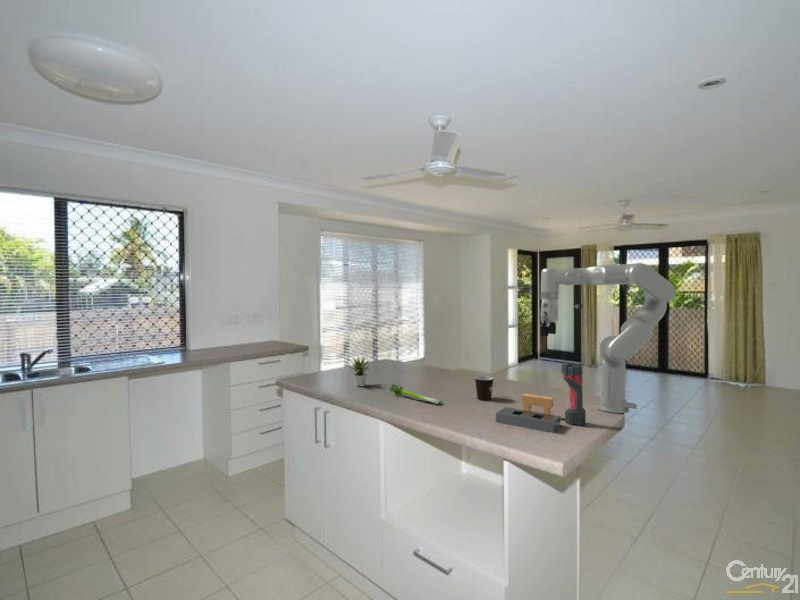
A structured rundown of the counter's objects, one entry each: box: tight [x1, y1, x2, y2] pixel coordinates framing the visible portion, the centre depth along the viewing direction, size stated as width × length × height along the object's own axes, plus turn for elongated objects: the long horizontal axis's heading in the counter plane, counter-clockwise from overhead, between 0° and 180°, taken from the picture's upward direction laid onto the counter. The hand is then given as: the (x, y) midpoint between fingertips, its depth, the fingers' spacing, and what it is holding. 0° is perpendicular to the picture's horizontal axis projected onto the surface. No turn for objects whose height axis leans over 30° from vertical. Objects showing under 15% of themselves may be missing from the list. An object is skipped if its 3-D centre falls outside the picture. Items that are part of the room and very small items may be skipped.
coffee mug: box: [474, 375, 494, 402], centre depth 199 cm, size 12×9×10 cm
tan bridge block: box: [521, 393, 554, 415], centre depth 172 cm, size 12×3×8 cm, turn 55°
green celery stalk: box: [388, 383, 443, 405], centre depth 199 cm, size 6×7×30 cm
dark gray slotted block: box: [495, 406, 561, 434], centre depth 162 cm, size 22×10×4 cm, turn 55°
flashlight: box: [561, 363, 587, 426], centre depth 162 cm, size 8×8×23 cm
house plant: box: [349, 355, 372, 386], centre depth 225 cm, size 14×14×16 cm
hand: (548, 334), depth 186 cm, fingers open, 9 cm apart
